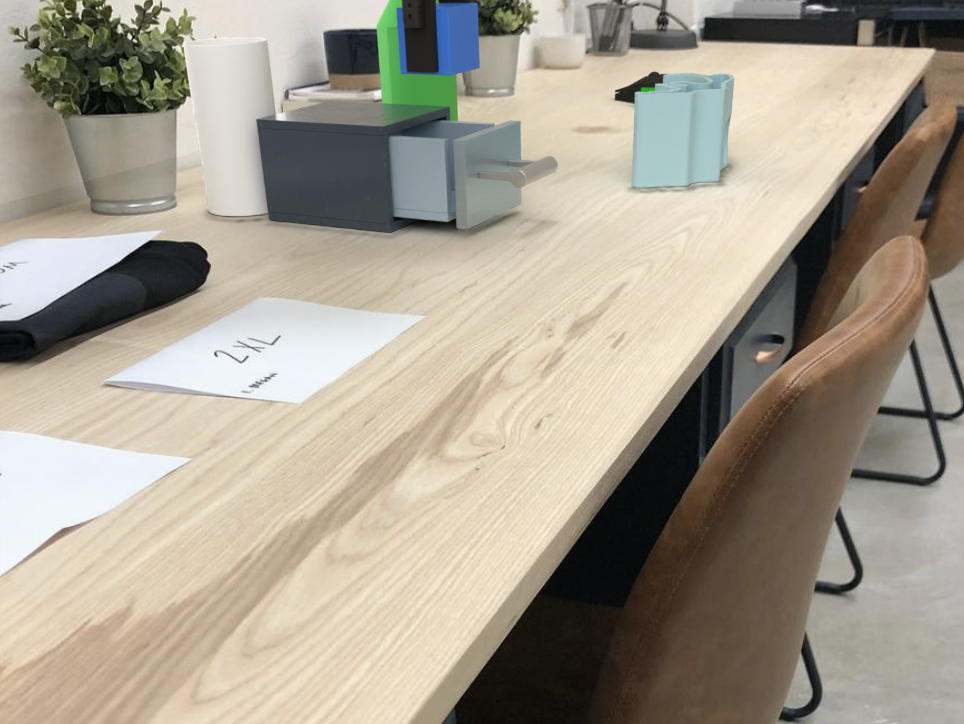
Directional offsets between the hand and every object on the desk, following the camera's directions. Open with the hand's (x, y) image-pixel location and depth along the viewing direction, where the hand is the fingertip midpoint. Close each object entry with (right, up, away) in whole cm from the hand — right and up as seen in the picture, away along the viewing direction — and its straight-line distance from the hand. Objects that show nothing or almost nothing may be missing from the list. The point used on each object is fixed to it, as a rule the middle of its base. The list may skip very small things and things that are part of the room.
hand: (440, 66), depth 95 cm
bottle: (-4, +6, +39) cm, 40 cm away
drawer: (+1, -7, +15) cm, 17 cm away
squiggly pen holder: (+27, +3, +33) cm, 42 cm away
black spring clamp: (+32, +31, +80) cm, 92 cm away
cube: (0, 0, 0) cm, 0 cm away
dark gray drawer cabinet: (-9, -6, +20) cm, 23 cm away
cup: (-21, -4, +24) cm, 32 cm away
